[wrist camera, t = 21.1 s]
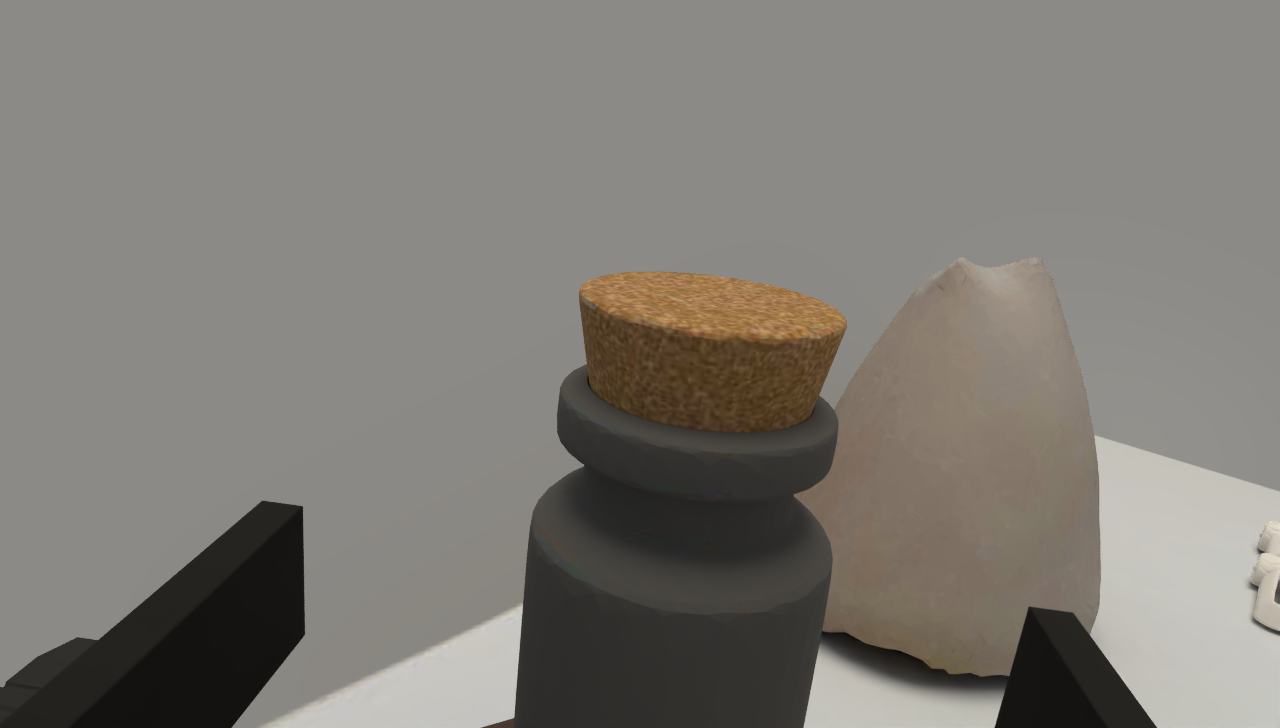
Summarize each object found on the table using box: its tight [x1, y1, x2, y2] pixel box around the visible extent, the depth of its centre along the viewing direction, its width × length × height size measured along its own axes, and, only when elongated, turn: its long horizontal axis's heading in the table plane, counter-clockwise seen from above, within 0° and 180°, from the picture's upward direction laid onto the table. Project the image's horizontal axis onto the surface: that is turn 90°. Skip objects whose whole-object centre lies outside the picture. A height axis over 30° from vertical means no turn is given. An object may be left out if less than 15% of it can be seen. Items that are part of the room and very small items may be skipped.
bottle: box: [514, 272, 847, 728], centre depth 17 cm, size 6×6×15 cm
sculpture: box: [794, 257, 1101, 677], centre depth 33 cm, size 13×12×15 cm
